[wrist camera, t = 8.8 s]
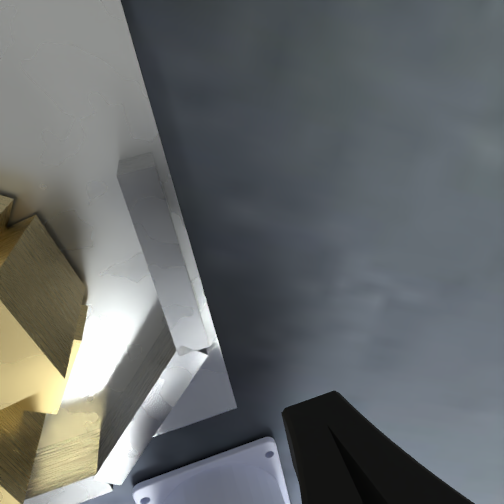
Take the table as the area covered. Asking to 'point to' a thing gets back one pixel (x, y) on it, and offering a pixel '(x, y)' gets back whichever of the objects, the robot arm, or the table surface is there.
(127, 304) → the flange plate
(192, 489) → the robot arm
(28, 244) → the gold block ring
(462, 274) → the table surface
